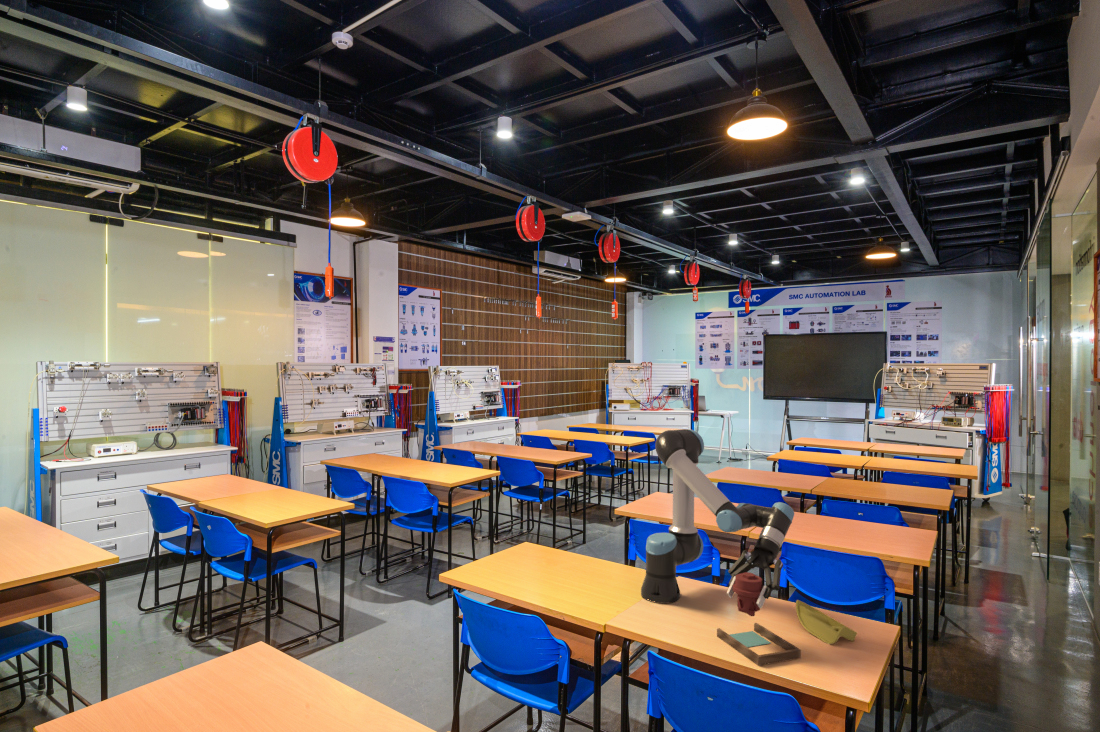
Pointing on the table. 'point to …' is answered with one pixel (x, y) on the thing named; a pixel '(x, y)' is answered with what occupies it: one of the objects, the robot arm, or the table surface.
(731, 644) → the bay
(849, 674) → the table surface
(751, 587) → the mechanical component
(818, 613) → the plastic component
